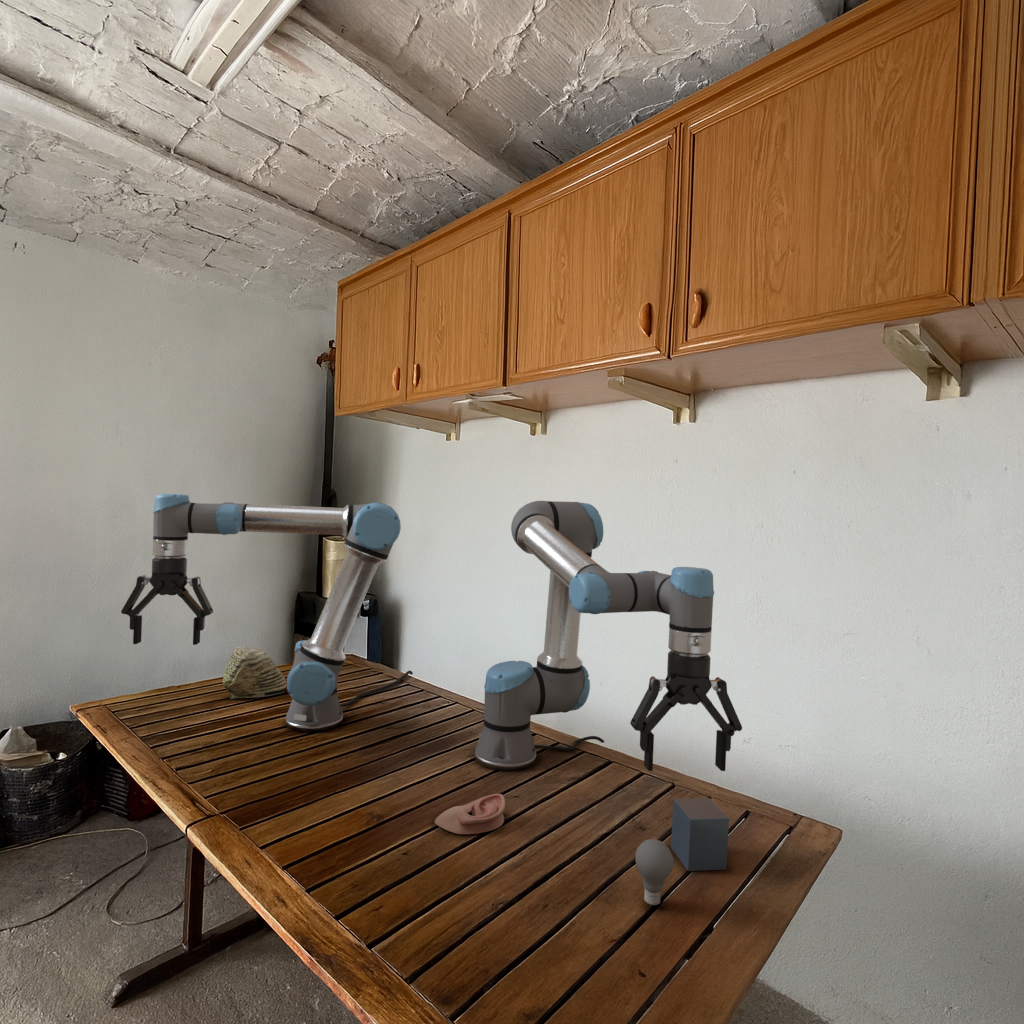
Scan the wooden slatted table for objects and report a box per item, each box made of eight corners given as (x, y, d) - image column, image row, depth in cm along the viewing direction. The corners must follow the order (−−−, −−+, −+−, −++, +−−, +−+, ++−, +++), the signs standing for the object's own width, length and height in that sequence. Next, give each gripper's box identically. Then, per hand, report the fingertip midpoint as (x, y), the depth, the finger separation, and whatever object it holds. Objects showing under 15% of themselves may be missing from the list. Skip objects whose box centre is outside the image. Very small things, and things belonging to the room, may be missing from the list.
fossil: (218, 695, 195) (220, 647, 195) (278, 685, 208) (279, 640, 207) (228, 703, 189) (230, 653, 188) (289, 692, 201) (290, 645, 201)
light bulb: (629, 891, 105) (631, 831, 105) (664, 890, 106) (667, 831, 106) (639, 914, 99) (642, 851, 99) (676, 914, 100) (679, 851, 100)
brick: (687, 871, 112) (690, 819, 112) (670, 847, 120) (673, 798, 120) (726, 869, 113) (729, 818, 113) (707, 846, 121) (709, 797, 121)
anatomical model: (430, 809, 122) (447, 784, 133) (429, 830, 122) (447, 802, 133) (497, 819, 119) (509, 792, 130) (496, 840, 119) (508, 811, 131)
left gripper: (107, 556, 149) (104, 646, 150) (218, 559, 153) (215, 647, 153) (122, 553, 157) (119, 639, 157) (228, 557, 160) (225, 640, 161)
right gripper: (628, 656, 111) (623, 776, 111) (764, 658, 113) (759, 776, 113) (617, 646, 118) (612, 759, 118) (745, 648, 121) (740, 759, 121)
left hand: (166, 643), depth 155 cm, fingers open, 13 cm apart
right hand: (684, 768), depth 116 cm, fingers open, 13 cm apart
